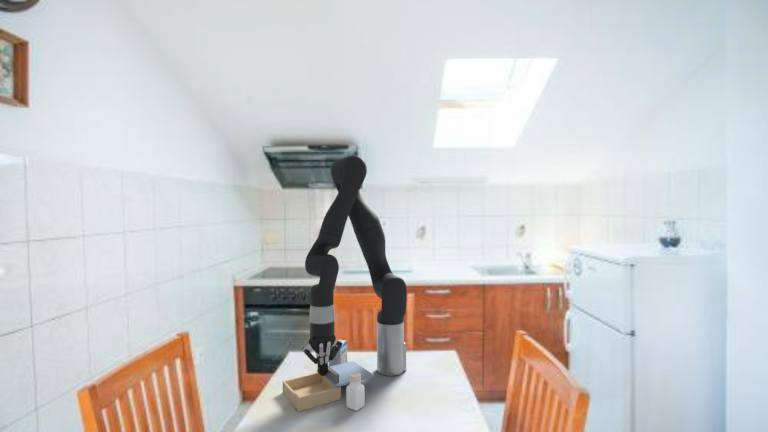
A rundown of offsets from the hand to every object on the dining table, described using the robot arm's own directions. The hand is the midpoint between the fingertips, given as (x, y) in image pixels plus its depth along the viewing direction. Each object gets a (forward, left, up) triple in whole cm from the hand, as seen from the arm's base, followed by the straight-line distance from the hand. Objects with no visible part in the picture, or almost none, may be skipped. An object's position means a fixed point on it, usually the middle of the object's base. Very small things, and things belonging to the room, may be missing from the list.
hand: (322, 374), depth 126 cm
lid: (-8, 0, -2) cm, 8 cm away
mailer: (+4, 0, -6) cm, 7 cm away
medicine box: (-12, -14, -6) cm, 19 cm away
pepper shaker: (-4, +13, -6) cm, 15 cm away
